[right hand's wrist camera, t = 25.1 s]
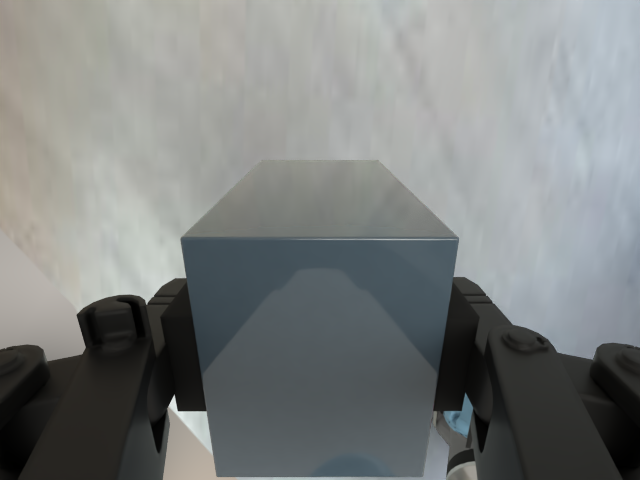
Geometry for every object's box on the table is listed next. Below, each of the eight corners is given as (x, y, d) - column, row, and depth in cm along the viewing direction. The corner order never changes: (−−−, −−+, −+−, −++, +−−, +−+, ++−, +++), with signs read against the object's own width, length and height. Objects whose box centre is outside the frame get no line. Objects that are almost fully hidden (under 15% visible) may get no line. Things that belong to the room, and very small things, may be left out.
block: (371, 288, 19) (423, 477, 9) (268, 288, 19) (216, 477, 9) (378, 160, 16) (460, 237, 7) (261, 160, 16) (178, 237, 7)
